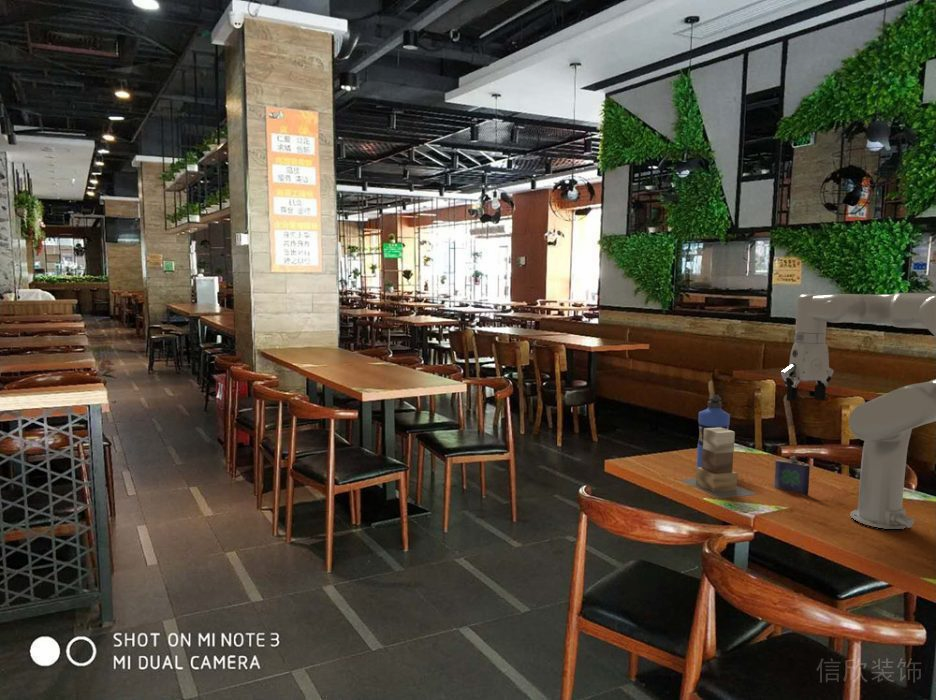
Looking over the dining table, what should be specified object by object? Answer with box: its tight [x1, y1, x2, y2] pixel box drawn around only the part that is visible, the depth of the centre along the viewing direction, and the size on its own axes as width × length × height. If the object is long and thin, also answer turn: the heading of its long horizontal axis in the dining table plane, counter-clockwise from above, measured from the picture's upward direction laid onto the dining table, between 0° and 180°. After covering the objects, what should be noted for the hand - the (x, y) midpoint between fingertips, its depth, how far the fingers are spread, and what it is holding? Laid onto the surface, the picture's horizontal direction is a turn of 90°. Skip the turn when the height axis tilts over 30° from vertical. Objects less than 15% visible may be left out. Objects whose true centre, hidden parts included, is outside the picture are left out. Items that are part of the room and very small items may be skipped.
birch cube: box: [703, 427, 736, 454], centre depth 194 cm, size 6×6×6 cm
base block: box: [695, 467, 738, 492], centre depth 195 cm, size 8×8×5 cm
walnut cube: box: [702, 449, 734, 474], centre depth 195 cm, size 6×6×6 cm
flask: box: [773, 455, 811, 496], centre depth 194 cm, size 9×3×11 cm, turn 50°
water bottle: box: [696, 394, 731, 469], centre depth 213 cm, size 9×9×25 cm
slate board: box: [680, 477, 758, 499], centre depth 196 cm, size 18×13×1 cm
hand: (805, 400), depth 185 cm, fingers open, 9 cm apart
